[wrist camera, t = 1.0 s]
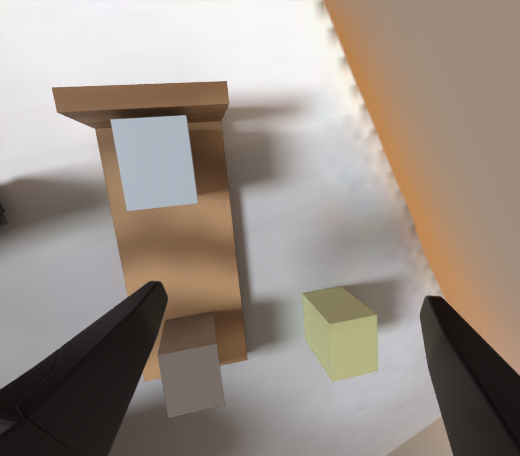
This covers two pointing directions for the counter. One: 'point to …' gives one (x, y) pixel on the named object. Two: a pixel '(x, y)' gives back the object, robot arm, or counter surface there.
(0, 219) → the magazine
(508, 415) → the robot arm
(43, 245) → the counter surface
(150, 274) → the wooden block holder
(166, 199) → the pale blue block
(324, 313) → the pale yellow block
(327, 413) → the counter surface
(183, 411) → the grey cube-like block
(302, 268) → the counter surface
